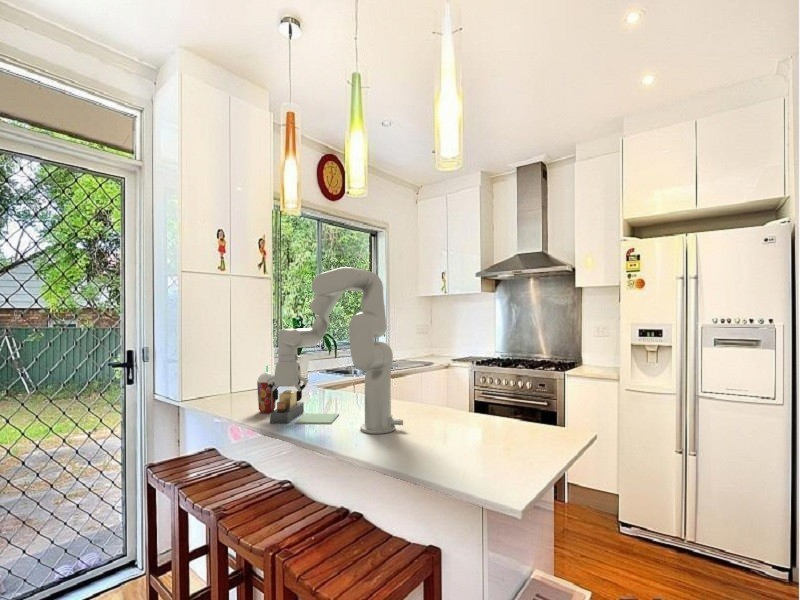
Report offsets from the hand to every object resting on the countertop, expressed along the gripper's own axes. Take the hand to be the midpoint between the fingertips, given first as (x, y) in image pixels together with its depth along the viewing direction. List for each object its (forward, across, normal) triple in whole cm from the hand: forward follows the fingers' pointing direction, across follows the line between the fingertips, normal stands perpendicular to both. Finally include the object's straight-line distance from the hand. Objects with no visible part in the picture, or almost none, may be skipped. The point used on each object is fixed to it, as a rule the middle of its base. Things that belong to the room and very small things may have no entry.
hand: (287, 400), depth 167 cm
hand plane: (+7, 0, 0) cm, 7 cm away
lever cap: (+3, 0, 0) cm, 3 cm away
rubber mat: (+7, -14, +3) cm, 16 cm away
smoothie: (+7, +12, -9) cm, 17 cm away
